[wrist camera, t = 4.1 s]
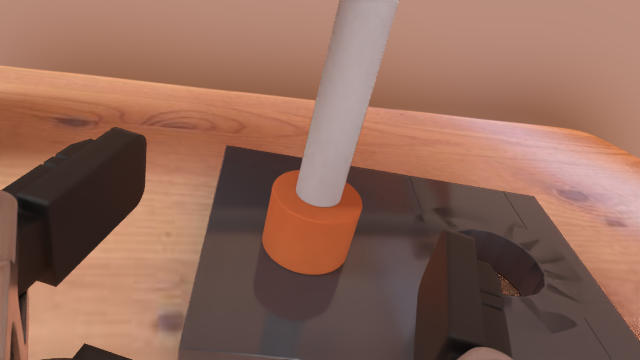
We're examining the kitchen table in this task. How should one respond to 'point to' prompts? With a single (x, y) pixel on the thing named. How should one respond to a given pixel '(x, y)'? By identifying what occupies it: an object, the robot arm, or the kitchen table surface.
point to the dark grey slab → (386, 274)
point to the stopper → (330, 148)
